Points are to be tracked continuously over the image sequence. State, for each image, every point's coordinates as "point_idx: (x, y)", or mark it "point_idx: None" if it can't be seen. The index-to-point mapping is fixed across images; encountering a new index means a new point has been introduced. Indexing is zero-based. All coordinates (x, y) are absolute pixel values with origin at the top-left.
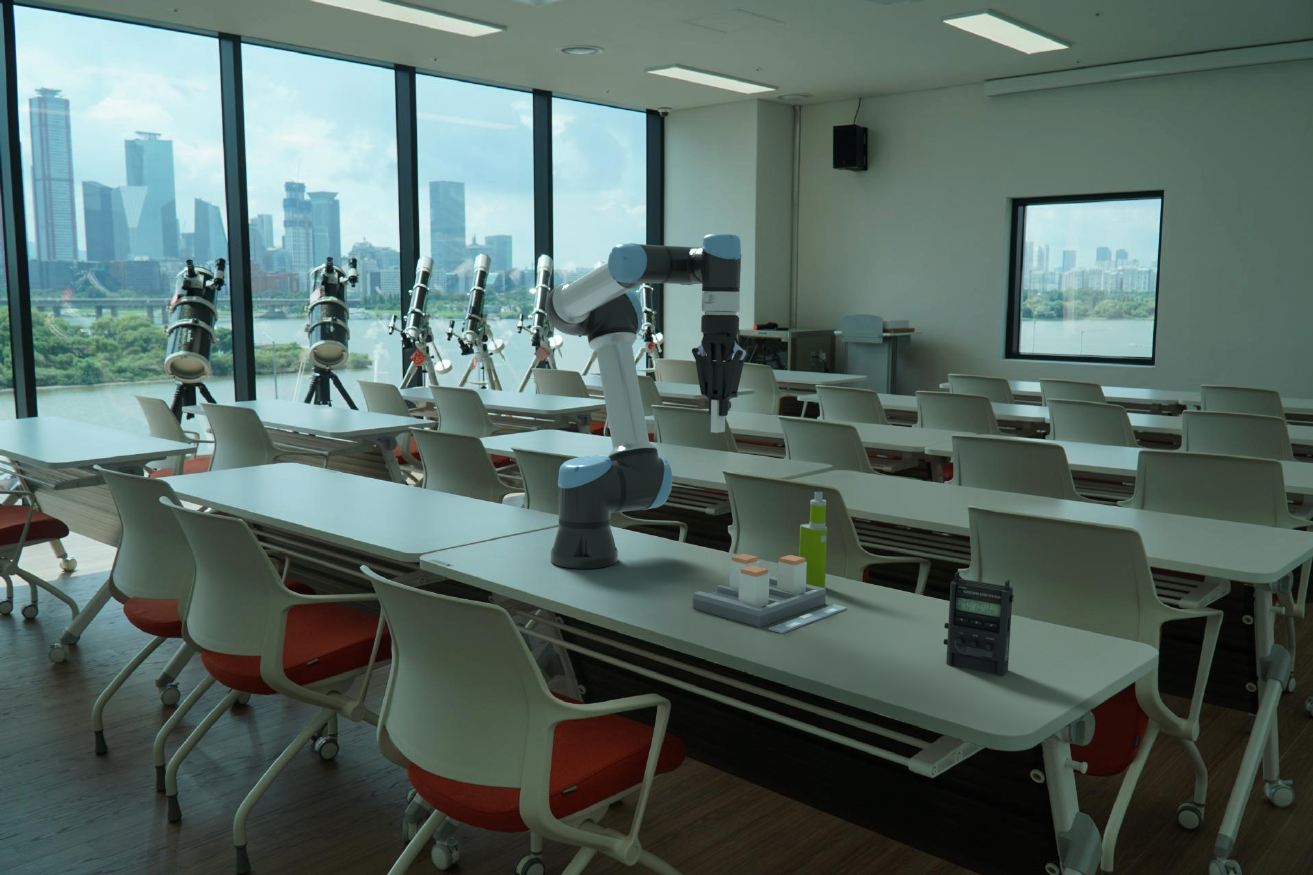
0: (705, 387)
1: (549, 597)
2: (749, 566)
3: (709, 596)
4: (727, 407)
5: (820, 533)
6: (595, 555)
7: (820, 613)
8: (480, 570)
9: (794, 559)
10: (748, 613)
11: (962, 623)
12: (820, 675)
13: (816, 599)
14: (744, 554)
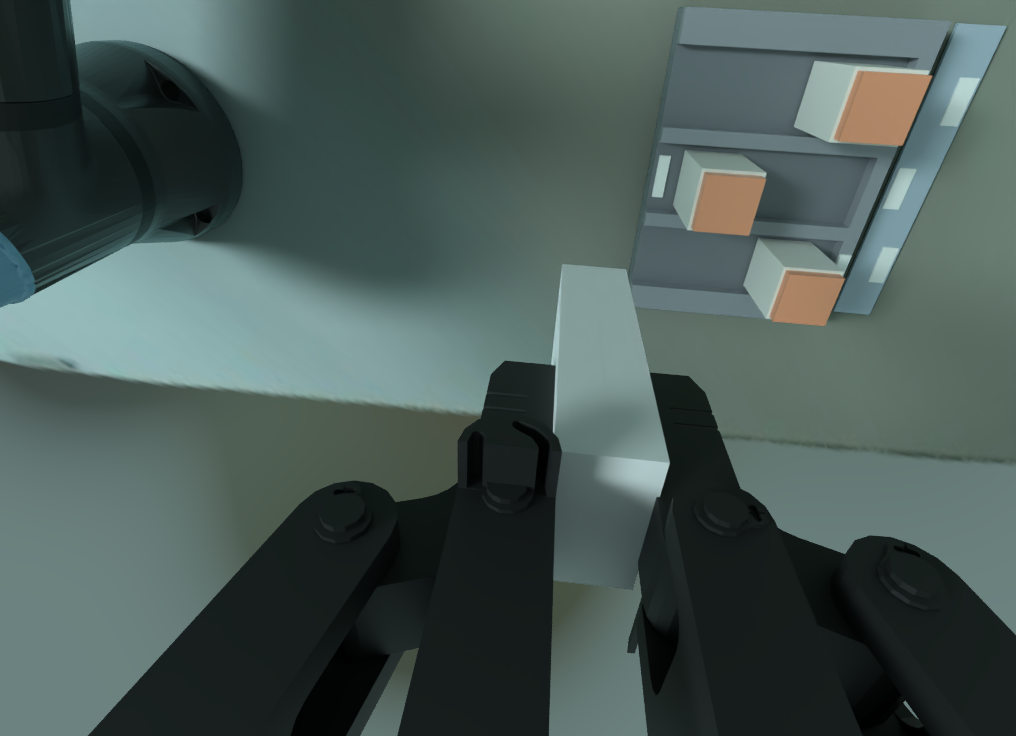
0: (365, 709)
1: (372, 397)
2: (785, 288)
3: (673, 305)
4: (719, 445)
5: None
6: (220, 196)
7: (931, 139)
8: (134, 354)
9: (896, 122)
10: None
11: None
12: (987, 439)
13: None
14: (715, 181)
